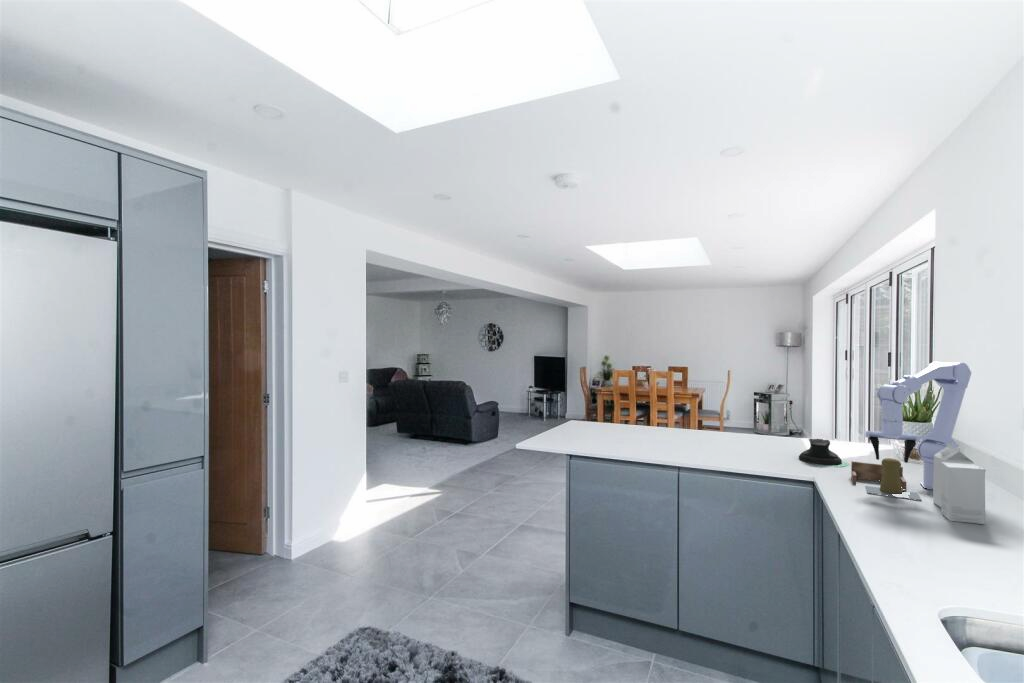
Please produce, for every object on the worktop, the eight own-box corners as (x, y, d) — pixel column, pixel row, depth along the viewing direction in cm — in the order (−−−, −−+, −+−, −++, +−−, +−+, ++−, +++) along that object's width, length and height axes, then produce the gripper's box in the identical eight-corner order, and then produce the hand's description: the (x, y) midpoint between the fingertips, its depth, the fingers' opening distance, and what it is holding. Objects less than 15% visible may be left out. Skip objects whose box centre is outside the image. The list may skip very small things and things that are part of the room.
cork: (906, 494, 163) (907, 461, 162) (887, 494, 163) (888, 460, 163) (893, 489, 169) (894, 456, 169) (875, 488, 169) (875, 456, 169)
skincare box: (976, 518, 143) (976, 464, 143) (986, 525, 137) (987, 469, 137) (939, 513, 146) (939, 460, 146) (948, 521, 140) (948, 466, 140)
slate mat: (917, 493, 165) (917, 492, 165) (921, 501, 157) (921, 499, 157) (865, 486, 172) (865, 485, 172) (867, 493, 165) (867, 492, 165)
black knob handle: (783, 456, 219) (783, 435, 219) (826, 456, 220) (827, 435, 220) (813, 467, 199) (813, 444, 199) (860, 467, 200) (860, 444, 200)
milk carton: (960, 505, 154) (961, 444, 154) (973, 512, 147) (974, 448, 147) (932, 502, 156) (933, 442, 156) (944, 510, 149) (944, 447, 149)
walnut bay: (902, 483, 177) (902, 466, 177) (906, 490, 168) (906, 473, 168) (851, 477, 185) (851, 461, 185) (852, 483, 176) (853, 466, 176)
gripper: (866, 420, 168) (866, 460, 168) (921, 424, 161) (921, 466, 161) (865, 417, 174) (864, 455, 174) (917, 421, 167) (917, 461, 167)
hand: (891, 460), depth 168 cm, fingers open, 7 cm apart
